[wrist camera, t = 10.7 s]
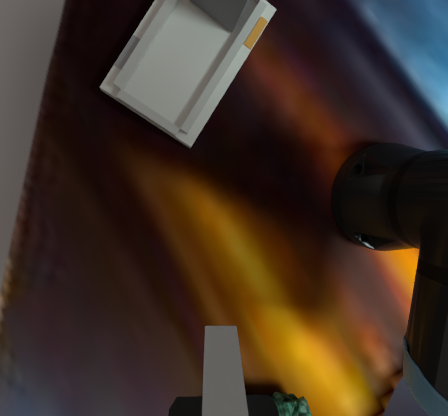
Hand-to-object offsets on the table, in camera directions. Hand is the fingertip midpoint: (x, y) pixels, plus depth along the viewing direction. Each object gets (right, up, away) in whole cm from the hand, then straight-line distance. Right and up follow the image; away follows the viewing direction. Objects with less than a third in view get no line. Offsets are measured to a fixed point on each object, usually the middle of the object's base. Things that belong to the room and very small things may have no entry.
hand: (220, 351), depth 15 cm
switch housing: (-4, +26, +22) cm, 35 cm away
